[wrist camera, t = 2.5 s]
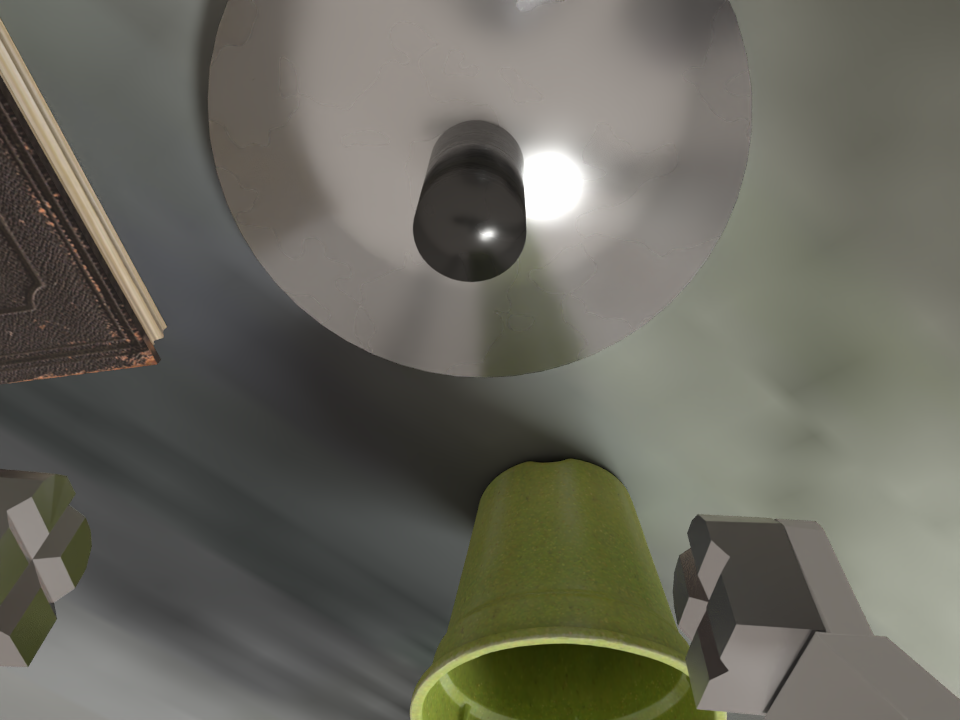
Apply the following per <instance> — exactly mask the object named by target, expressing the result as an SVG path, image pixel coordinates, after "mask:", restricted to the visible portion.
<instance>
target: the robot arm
mask: <svg viewBox="0 0 960 720" xmlns="http://www.w3.org/2000/svg"><path fill="white" fill-rule="evenodd" d="M74 496H75V492H74V490H73V488H72V486H71V483H70V481H69V479H68V477H67V476H63V475H58V474H50V473H39V472H28V471H17V470H6V469H0V666H11V667H28V666H29V665H30V663H31V661H32V660H33V658H34V656H35V655H36V653H37V651H38V650H39V648H40V646H41V645H42V643H43V641H44V639H45V638H46V636H47V634H48V633H49V631H50V629H51V628H52V626H53V624H54V623H55V621H56V619H57V617H56V611H55V606H54V602H56V601H57V600H58V599H60V598H61V597H63V596H64V595H66V594H67V593H69V592H70V591H72V590H73V589H74V588H75V587H76V585H77V584H78V582H79V580H80V578H81V577H82V575H83V573H84V571H85V569H86V567H87V563H88V559H89V555H90V551H91V547H92V545H91V530H90V528H89V525H88V523H87V520H86V518H85V517H84V516H83V515H82V514H80V513H79V512H78V511H76V510H75V509H74V508H72V507H71V506H70V505H69V504H70V502H71V500H72V499H73V497H74ZM687 534H688V538H689V542H690V546H691V548H690V549H688V550H687V551H685V552H684V553H682V554H681V555H679V558H678V562H677V565H676V568H675V572H674V584H673V598H674V609H675V614H676V619H677V624H678V627H679V628H680V629H681V630H682V631H683V632H684V633H685V634H686V636H687V637H688V638H689V639H690V640H691V641H692V643H691V645H690V648H689V650H688V652H687V655H686V657H685V661H686V665H687V669H688V674H689V678H690V683H691V687H692V691H693V696H694V700H695V705H696V709H700V710H711V711H722V712H733V713H744V714H755V715H766V716H765V718H764V720H960V699H959V698H957V697H956V696H955V695H954V694H953V693H952V692H950V691H949V690H948V689H947V688H946V687H945V686H943V685H942V684H941V683H940V682H939V681H938V680H936V679H935V678H934V677H933V676H932V675H931V674H929V673H928V672H927V671H926V670H925V669H924V668H922V667H921V666H920V665H919V664H918V663H917V662H915V661H914V660H913V659H912V658H911V657H910V656H908V655H907V654H906V653H905V652H904V651H903V650H901V649H900V648H899V647H898V646H897V645H896V644H894V643H893V642H892V641H891V640H890V639H889V638H888V637H885V636H875V635H874V634H873V632H872V630H871V628H870V626H869V624H868V622H867V620H866V618H865V615H864V613H863V611H862V609H861V607H860V605H859V603H858V601H857V599H856V596H855V594H854V592H853V590H852V588H851V586H850V584H849V582H848V580H847V578H846V575H845V573H844V571H843V569H842V567H841V565H840V563H839V561H838V559H837V557H836V554H835V552H834V550H833V548H832V546H831V544H830V542H829V540H828V538H827V536H826V533H825V531H824V529H823V528H822V527H821V526H820V525H819V524H818V523H817V522H816V521H805V520H789V519H772V518H761V517H742V516H723V515H704V514H698V515H697V516H696V517H695V518H694V519H693V520H692V522H691V524H690V527H689V530H688V532H687Z"/></svg>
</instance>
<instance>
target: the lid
mask: <svg viewBox="0 0 960 720" xmlns="http://www.w3.org/2000/svg"><path fill="white" fill-rule="evenodd" d="M208 117H209V132H210V141H211V146H212V151H213V156H214V161H215V166H216V171H217V174H218V177H219V180H220V184H221V187H222V190H223V193H224V196H225V199H226V202H227V204H228V206H229V209H230V211H231V213H232V215H233V217H234V219H235V221H236V223H237V226H238V228H239V230H240V232H241V234H242V235H243V237H244V239H245V240H246V242H247V243H248V245H249V247H250V248H251V250H252V251H253V253H254V255H255V256H256V258H257V259H258V261H259V262H260V263H261V265H262V266H263V267H264V268H265V270H266V271H267V272H268V273H269V275H270V276H271V277H272V279H273V280H274V281H275V282H276V284H277V285H278V286H279V287H280V288H281V289H282V290H283V291H284V292H285V293H286V294H287V295H288V296H289V297H290V298H291V299H292V300H293V301H294V302H295V303H296V304H297V305H298V306H299V307H300V308H302V309H303V310H304V311H305V312H307V313H308V314H309V315H310V316H312V317H313V318H314V319H315V320H317V321H318V322H319V323H320V324H321V325H323V326H324V327H326V328H327V329H329V330H331V331H332V332H334V333H335V334H337V335H338V336H340V337H341V338H343V339H345V340H346V341H348V342H350V343H352V344H354V345H356V346H358V347H360V348H362V349H364V350H366V351H368V352H370V353H372V354H374V355H376V356H379V357H382V358H384V359H387V360H390V361H392V362H395V363H398V364H400V365H404V366H408V367H412V368H416V369H419V370H423V371H427V372H433V373H439V374H446V375H452V376H464V377H483V378H485V377H504V376H516V375H522V374H528V373H535V372H541V371H545V370H548V369H552V368H556V367H559V366H563V365H567V364H570V363H572V362H575V361H578V360H580V359H583V358H585V357H588V356H591V355H593V354H596V353H597V352H599V351H601V350H603V349H605V348H607V347H609V346H611V345H613V344H615V343H617V342H619V341H621V340H622V339H624V338H625V337H627V336H628V335H630V334H631V333H633V332H634V331H636V330H637V329H639V328H640V327H642V326H643V325H645V324H646V323H647V322H649V321H650V320H651V319H652V318H653V317H655V316H656V315H657V314H658V313H659V312H660V311H662V310H663V309H664V308H665V307H666V306H668V305H669V304H670V303H671V302H672V301H673V300H674V298H675V297H676V296H677V295H678V294H679V293H680V292H681V291H682V290H683V289H684V288H685V287H686V286H687V285H688V284H689V283H690V281H691V280H692V279H693V277H694V276H695V275H696V273H697V272H698V271H699V269H700V268H701V267H702V265H703V264H704V263H705V261H706V260H707V258H708V257H709V256H710V254H711V252H712V250H713V249H714V247H715V245H716V243H717V242H718V240H719V238H720V236H721V234H722V233H723V231H724V229H725V227H726V225H727V222H728V220H729V218H730V215H731V213H732V210H733V208H734V206H735V203H736V201H737V198H738V195H739V192H740V188H741V184H742V181H743V177H744V173H745V170H746V166H747V161H748V153H749V146H750V138H751V131H752V89H751V82H750V75H749V67H748V60H747V53H746V50H745V46H744V43H743V40H742V36H741V33H740V29H739V26H738V22H737V19H736V15H735V13H734V11H733V9H732V7H731V4H730V2H729V0H228V2H227V5H226V7H225V10H224V13H223V16H222V18H221V21H220V24H219V27H218V30H217V35H216V39H215V44H214V49H213V54H212V59H211V63H210V73H209V88H208Z"/></svg>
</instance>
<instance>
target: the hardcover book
mask: <svg viewBox="0 0 960 720" xmlns="http://www.w3.org/2000/svg"><path fill="white" fill-rule="evenodd" d="M166 328H167V326H166V324H165V322H164V320H163V319H162V317H161V315H160V313H159V311H158V309H157V307H156V306H155V304H154V302H153V300H152V298H151V296H150V294H149V293H148V291H147V289H146V287H145V285H144V283H143V281H142V280H141V278H140V276H139V274H138V272H137V270H136V269H135V267H134V265H133V263H132V261H131V259H130V257H129V256H128V254H127V252H126V250H125V248H124V246H123V244H122V243H121V241H120V239H119V237H118V235H117V233H116V231H115V230H114V228H113V226H112V224H111V222H110V220H109V219H108V217H107V215H106V213H105V211H104V209H103V207H102V206H101V204H100V202H99V200H98V198H97V196H96V194H95V193H94V191H93V189H92V187H91V185H90V183H89V181H88V180H87V178H86V176H85V174H84V172H83V170H82V169H81V167H80V165H79V163H78V161H77V159H76V157H75V156H74V154H73V152H72V150H71V148H70V146H69V144H68V143H67V141H66V139H65V137H64V135H63V133H62V131H61V130H60V128H59V126H58V124H57V122H56V120H55V119H54V117H53V115H52V113H51V111H50V109H49V107H48V106H47V104H46V102H45V100H44V98H43V96H42V94H41V93H40V91H39V89H38V87H37V85H36V83H35V81H34V80H33V78H32V76H31V74H30V72H29V70H28V69H27V67H26V65H25V63H24V61H23V59H22V57H21V56H20V54H19V52H18V50H17V48H16V46H15V44H14V43H13V41H12V39H11V37H10V35H9V33H8V31H7V30H6V28H5V26H4V24H3V22H2V20H1V19H0V384H7V383H15V382H22V381H30V380H38V379H46V378H54V377H62V376H70V375H77V374H85V373H93V372H101V371H109V370H117V369H124V368H132V367H140V366H148V365H156V364H158V363H159V362H160V360H161V359H160V357H159V355H158V353H157V352H156V350H155V348H154V346H153V344H154V342H153V341H155V340H157V339H160V338H163V337H164V335H163V331H164V329H166Z"/></svg>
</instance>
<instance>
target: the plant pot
mask: <svg viewBox="0 0 960 720" xmlns="http://www.w3.org/2000/svg"><path fill="white" fill-rule="evenodd" d="M689 648H690V647H689V645H688V643H687V642H686V641H685V639H684V638H683V637H682V636H681V635H680V633H679V632H678V629H677V627H676V624H675V621H674V619H673V616H672V613H671V610H670V608H669V605H668V602H667V599H666V596H665V593H664V591H663V588H662V585H661V582H660V579H659V577H658V574H657V571H656V568H655V565H654V563H653V560H652V557H651V554H650V551H649V549H648V546H647V543H646V540H645V537H644V534H643V531H642V528H641V525H640V522H639V519H638V517H637V514H636V511H635V508H634V505H633V502H632V500H631V498H630V495H629V493H628V491H627V490H626V488H625V487H624V485H623V484H622V483H621V482H620V481H619V480H618V479H617V478H616V477H615V476H614V475H612V474H611V473H609V472H608V471H606V470H605V469H603V468H601V467H599V466H596V465H594V464H591V463H588V462H585V461H581V460H576V459H566V460H563V461H559V462H550V463H538V462H532V461H528V462H524V463H521V464H518V465H516V466H514V467H512V468H509V469H508V470H506V471H504V472H503V473H501V474H500V475H499V476H497V477H496V478H495V479H494V480H493V481H492V482H491V483H490V484H489V486H488V487H487V488H486V490H485V491H484V493H483V495H482V497H481V499H480V503H479V507H478V512H477V516H476V520H475V524H474V528H473V532H472V536H471V540H470V544H469V548H468V553H467V556H466V560H465V564H464V568H463V572H462V576H461V580H460V583H459V587H458V591H457V595H456V599H455V603H454V607H453V611H452V615H451V619H450V623H449V627H448V630H447V633H446V635H445V636H444V637H443V639H442V640H441V642H440V644H439V646H438V648H437V651H436V654H435V657H434V660H433V664H432V666H430V668H429V669H428V670H427V671H426V672H425V673H424V674H423V675H422V677H421V679H420V680H419V681H418V683H417V685H416V687H415V690H414V693H413V696H412V701H411V706H410V720H727V712H722V711H711V710H700V709H696V705H695V700H694V696H693V691H692V687H691V683H690V678H689V674H688V669H687V665H686V661H685V657H686V655H687V652H688V650H689Z"/></svg>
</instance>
